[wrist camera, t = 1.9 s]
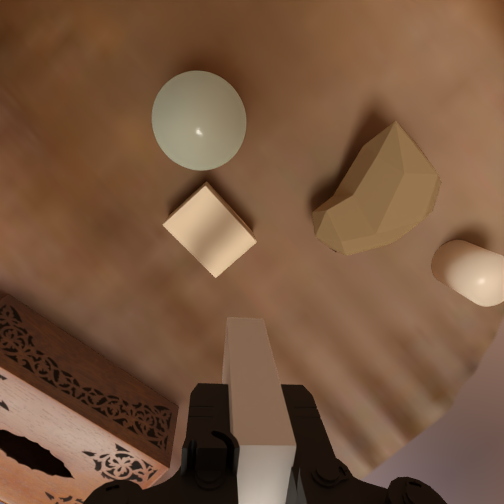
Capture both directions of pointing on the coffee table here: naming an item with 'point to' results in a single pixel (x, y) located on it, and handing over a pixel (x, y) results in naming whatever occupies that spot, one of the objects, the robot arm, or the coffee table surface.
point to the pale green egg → (199, 120)
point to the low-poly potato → (379, 195)
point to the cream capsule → (470, 271)
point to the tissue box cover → (72, 416)
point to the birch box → (210, 230)
